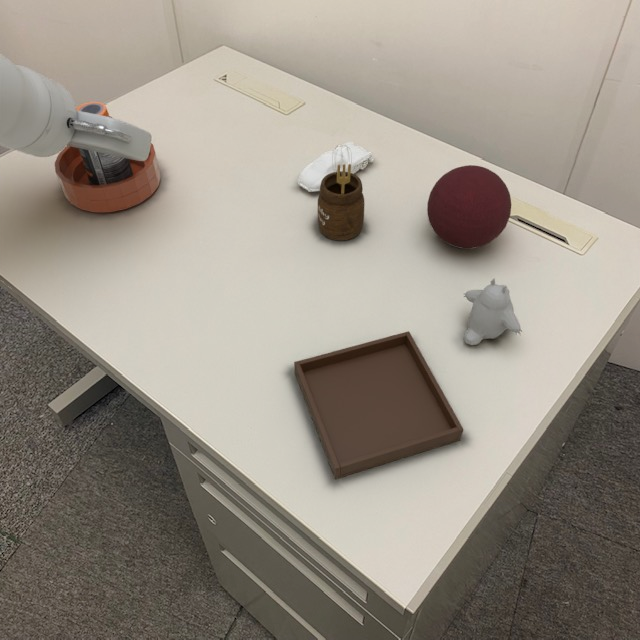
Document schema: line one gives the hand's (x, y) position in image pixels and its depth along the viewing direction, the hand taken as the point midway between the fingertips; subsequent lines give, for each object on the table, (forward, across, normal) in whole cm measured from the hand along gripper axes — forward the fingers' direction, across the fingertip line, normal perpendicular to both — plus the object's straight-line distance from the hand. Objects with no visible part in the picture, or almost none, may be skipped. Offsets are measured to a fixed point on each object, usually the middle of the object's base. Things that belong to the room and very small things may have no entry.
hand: (104, 142), depth 86 cm
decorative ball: (+8, -48, +2) cm, 49 cm away
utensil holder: (+5, -33, +4) cm, 34 cm away
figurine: (-3, -54, +12) cm, 55 cm away
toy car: (+13, -28, -4) cm, 31 cm away
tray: (-12, -45, +22) cm, 51 cm away
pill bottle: (+4, 0, +5) cm, 6 cm away
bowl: (+4, 0, +5) cm, 6 cm away
